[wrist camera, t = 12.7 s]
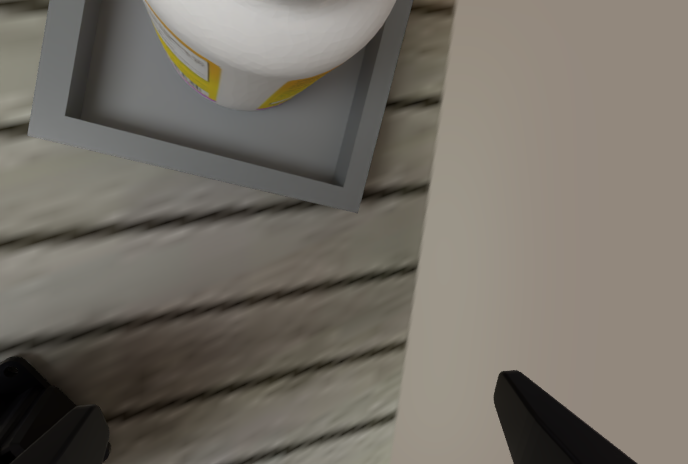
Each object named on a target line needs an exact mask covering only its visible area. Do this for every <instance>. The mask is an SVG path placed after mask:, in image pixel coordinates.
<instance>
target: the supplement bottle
mask: <svg viewBox="0 0 688 464" xmlns="http://www.w3.org/2000/svg"><path fill="white" fill-rule="evenodd" d="M143 2H144V4H145V7H146V9H147V11H148V14H149V16H150V18H151V20H152V23H153V25H154V28H155V30H156V32H157V35H158V37H159V39H160V41H161V43H162V46H163V48H164V50H165V52H166V54H167V56H168V58H169V60H170V61H171V63H172V65H173V66H174V67H175V69H176V70H177V72H178V73H179V74H180V76H181V77H182V78H183V79H184V80H185V82H186V83H187V84H189V85H190V86H191V87H192V88H193V89H194V90H195V91H196V92H198V93H199V94H200V95H202V96H203V97H205V98H206V99H208V100H210V101H212V102H214V103H216V104H218V105H220V106H223V107H226V108H230V109H234V110H240V111H259V110H265V109H269V108H272V107H275V106H277V105H280V104H282V103H284V102H286V101H288V100H290V99H291V98H292V97H294V96H295V95H297V94H298V93H300V92H301V91H303V90H304V89H306V88H307V87H308V86H310V85H311V84H313V83H314V82H315V81H317V80H318V79H320V78H321V77H323V76H324V75H326V74H327V73H329V72H330V71H332V70H333V69H335V68H336V67H338V66H340V65H341V64H343V63H344V62H345V61H347V60H348V59H350V58H351V57H352V56H353V55H355V54H356V53H357V52H359V51H360V50H361V49H362V48H363V47H364V46H365V45H366V44H367V43H368V42H369V41H370V40H371V39H372V38H373V37H374V36H375V35H376V33H377V32H378V31H379V29H380V28H381V27H382V26H383V24H384V22H385V21H386V19H387V17H388V16H389V14H390V12H391V10H392V8H393V6H394V4H395V2H396V0H143Z"/></svg>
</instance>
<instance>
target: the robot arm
mask: <svg viewBox="0 0 688 464" xmlns="http://www.w3.org/2000/svg"><path fill="white" fill-rule="evenodd" d="M10 366H11V367H15V368H17V370H18V372H17V373H12V372H10V371H9V369H8V367H10ZM494 404H495V408H496V411H497V413H498V417H499V420H500V423H501V426H502V429H503V432H504V435H505V438H506V441H507V444H508V447H509V450H510V453H511V456H512V459H513V462H514V464H637V463H636V462H635V461H634V460H632V459H631V458H630V457H628V456H627V455H626V454H625V453H623V452H622V451H621V450H620V449H618V448H617V447H615V446H614V445H613V444H612V443H610V442H609V441H608V440H607V439H605V438H604V437H603V436H602V435H600V434H599V433H598V432H597V431H595V430H594V429H593V428H591V427H590V426H589V425H587V424H586V423H585V422H584V421H582V420H581V419H580V418H579V417H577V416H576V415H575V414H574V413H572V412H571V411H570V410H568V409H567V408H566V407H565V406H563V405H562V404H561V403H559V402H558V401H557V400H555V399H554V398H553V397H552V396H550V395H549V394H548V393H547V392H545V391H544V390H543V389H542V388H540V387H539V386H538V385H536V384H535V383H534V382H533V381H531V380H530V379H529V378H528V377H526V376H525V375H524V374H522V373H521V372H519V371H517V370H516V371H515V370H513V371H503V372H501V373H500V374H499V376H498V380H497V384H496V388H495V392H494ZM108 440H109V427H108V425H107V423H106V420H105V418H104V416H103V414H102V411H101V409H100V407H99V406H97V405H95V404H92V405H80V406H76V405H75V404H74V403H73V402H72V401H71V400H70V399H69V398H68V397H67V396H66V395H65V394H64V393H63V392H62V391H61V390H60V389H59V388H58V387H55V386H51V385H50V384H49V383H48V382H47V381H46V380H45V379H44V378H43V377H42V376H41V375H40V374H39V373H38V372H37V371H36V370H35V369H34V368H33V367H32V366H31V365H30V364H29V363H28V362H27V361H26V360H25V359H23V358H20V357H10V358H8V359H6V360H4V361H3V362H1V363H0V464H102V462H104V461H105V460H106V459H107V458H108V456H109V453H110V450H111V445H110V443H109V442H108Z"/></svg>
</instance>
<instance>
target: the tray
mask: <svg viewBox="0 0 688 464" xmlns="http://www.w3.org/2000/svg"><path fill="white" fill-rule="evenodd" d="M412 3H413V0H396V2H395V4H394V6H393V8H392V10H391V12H390V14H389V16H388V17H387V19H386V21H385V22H384V24H383V26H382V27H381V28H380V29H379V31H378V32H377V33H376V35H375V36H374V37H373V38H372V39H371V40H370V41H369V42H368V43H367V44H366V45H365V46H364V47H363V48H362V49H361V50H360V51H359V52H357V53H356V54H355V55H353V56H352V57H351V58H350V59H348V60H347V61H345V62H344V63H343V64H341V65H340V66H338V67H336V68H335V69H333V70H332V71H330V72H329V73H327V74H326V75H324V76H323V77H321V78H320V79H318V80H317V81H315V82H314V83H313V84H311V85H310V86H308V87H307V88H306V89H304V90H303V91H301V92H300V93H298V94H297V95H295V96H294V97H292V98H291V99H290V100H288V101H286V102H284V103H282V104H280V105H277V106H275V107H272V108H269V109H265V110H259V111H240V110H234V109H230V108H226V107H223V106H220V105H218V104H216V103H214V102H212V101H210V100H208V99H206V98H205V97H203V96H202V95H200V94H199V93H198V92H196V91H195V90H194V89H193V88H192V87H191V86H190V85H189V84H187V83H186V82H185V80H184V79H183V78H182V77H181V76H180V74H179V73H178V72H177V70H176V69H175V67H174V66H173V65H172V63H171V61H170V60H169V58H168V56H167V54H166V52H165V50H164V48H163V46H162V43H161V41H160V39H159V37H158V35H157V32H156V30H155V28H154V25H153V23H152V20H151V18H150V16H149V14H148V11H147V9H146V7H145V4H144V2H143V0H50V2H49V8H48V14H47V20H46V26H45V32H44V38H43V44H42V50H41V56H40V62H39V68H38V74H37V80H36V86H35V92H34V98H33V105H32V111H31V117H30V123H29V129H28V135H27V136H32V137H36V138H40V139H44V140H49V141H53V142H57V143H61V144H66V145H70V146H74V147H78V148H83V149H87V150H91V151H95V152H100V153H104V154H108V155H112V156H117V157H121V158H125V159H129V160H134V161H138V162H142V163H146V164H151V165H155V166H159V167H163V168H167V169H172V170H176V171H180V172H184V173H189V174H193V175H197V176H201V177H206V178H210V179H214V180H218V181H223V182H227V183H231V184H235V185H240V186H244V187H248V188H252V189H257V190H261V191H265V192H269V193H274V194H278V195H282V196H286V197H291V198H295V199H299V200H303V201H308V202H312V203H316V204H320V205H325V206H329V207H333V208H337V209H342V210H346V211H350V212H354V213H358V211H359V207H360V203H361V199H362V195H363V191H364V188H365V184H366V180H367V176H368V172H369V168H370V164H371V161H372V157H373V153H374V149H375V145H376V141H377V138H378V134H379V130H380V126H381V122H382V118H383V114H384V111H385V107H386V103H387V99H388V95H389V91H390V88H391V84H392V80H393V76H394V72H395V68H396V64H397V61H398V57H399V53H400V49H401V45H402V41H403V38H404V34H405V30H406V26H407V22H408V18H409V14H410V11H411V7H412Z"/></svg>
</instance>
